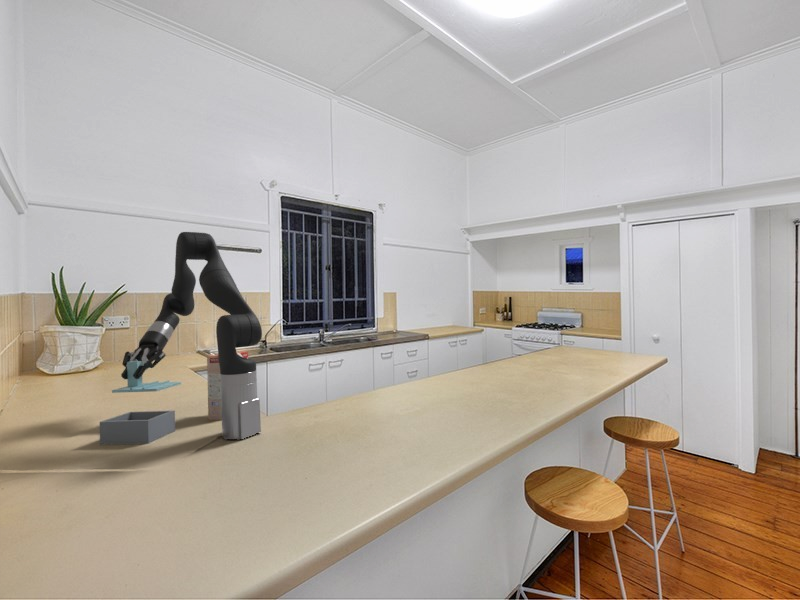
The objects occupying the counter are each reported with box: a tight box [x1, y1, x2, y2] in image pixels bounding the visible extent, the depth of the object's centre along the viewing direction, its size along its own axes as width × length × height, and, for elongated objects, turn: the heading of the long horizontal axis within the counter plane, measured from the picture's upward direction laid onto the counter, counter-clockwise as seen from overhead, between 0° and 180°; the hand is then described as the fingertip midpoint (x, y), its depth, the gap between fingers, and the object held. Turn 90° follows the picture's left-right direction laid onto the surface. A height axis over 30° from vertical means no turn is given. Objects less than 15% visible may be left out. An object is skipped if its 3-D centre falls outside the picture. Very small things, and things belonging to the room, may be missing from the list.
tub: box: [99, 410, 176, 445], centre depth 103 cm, size 14×10×6 cm
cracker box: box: [206, 350, 249, 421], centre depth 124 cm, size 14×6×21 cm, turn 168°
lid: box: [111, 361, 182, 394], centre depth 121 cm, size 15×11×9 cm
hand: (129, 377), depth 119 cm, fingers closed on lid, 3 cm apart
